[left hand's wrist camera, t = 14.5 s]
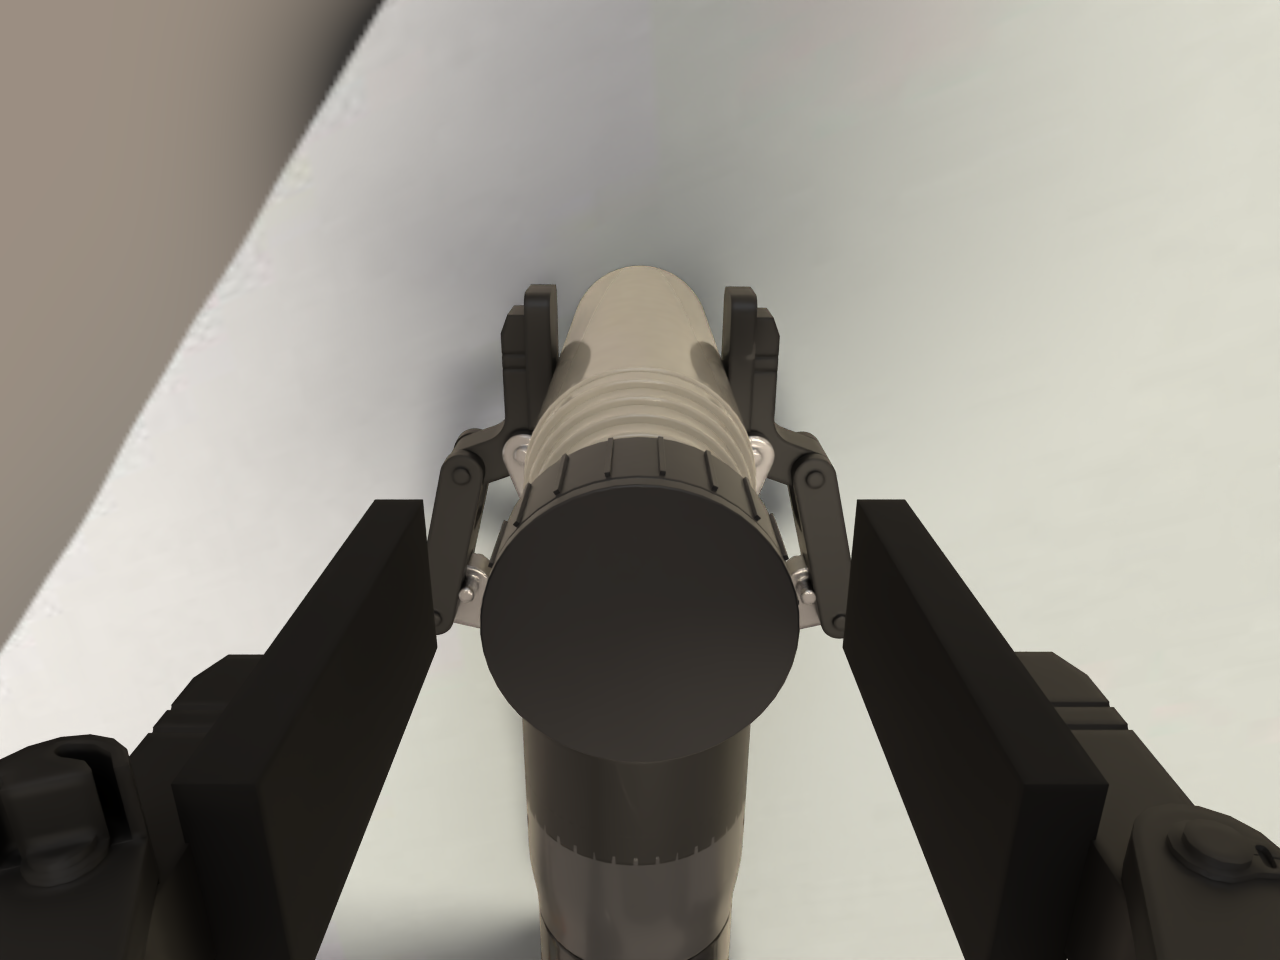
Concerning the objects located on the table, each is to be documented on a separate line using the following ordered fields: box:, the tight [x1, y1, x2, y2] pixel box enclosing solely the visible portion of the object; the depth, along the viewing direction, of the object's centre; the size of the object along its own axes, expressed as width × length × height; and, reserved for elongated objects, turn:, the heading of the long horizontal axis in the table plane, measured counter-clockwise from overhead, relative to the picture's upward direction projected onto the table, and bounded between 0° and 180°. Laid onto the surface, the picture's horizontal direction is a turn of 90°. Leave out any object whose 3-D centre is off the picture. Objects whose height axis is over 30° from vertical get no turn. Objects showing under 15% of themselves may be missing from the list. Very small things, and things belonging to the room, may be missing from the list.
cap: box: [480, 436, 800, 763], centre depth 14 cm, size 5×5×2 cm
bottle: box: [523, 266, 756, 492], centre depth 22 cm, size 5×5×20 cm
